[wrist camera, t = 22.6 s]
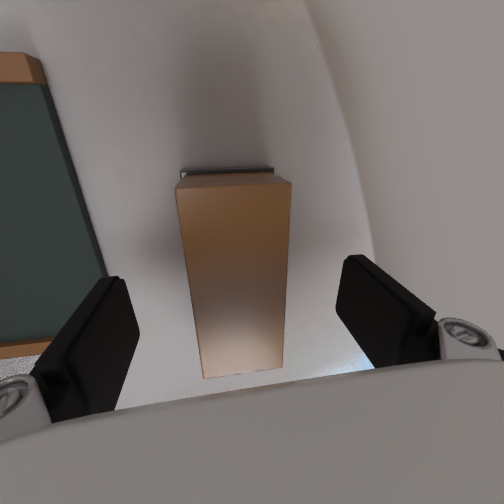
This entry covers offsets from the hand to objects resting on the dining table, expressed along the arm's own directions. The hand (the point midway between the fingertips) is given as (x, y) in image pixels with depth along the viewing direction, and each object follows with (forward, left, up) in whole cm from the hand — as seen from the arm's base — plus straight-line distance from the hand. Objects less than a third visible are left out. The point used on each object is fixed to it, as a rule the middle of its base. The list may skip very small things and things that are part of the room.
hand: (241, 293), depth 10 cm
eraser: (+1, 0, -6) cm, 6 cm away
